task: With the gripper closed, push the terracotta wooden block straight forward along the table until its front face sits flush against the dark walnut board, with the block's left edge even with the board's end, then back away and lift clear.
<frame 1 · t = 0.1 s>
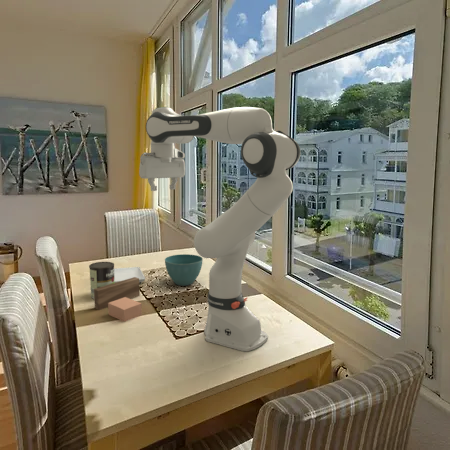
hand: (163, 190, 136), 48 cm above the table, tool pointing down, fingers open, 8 cm apart
salad plate: (121, 280, 179), on the table
plant pot: (183, 283, 176), on the table
terracotta block: (125, 315, 139), on the table
coffee can: (103, 295, 158), on the table
walnut board: (118, 301, 151), on the table
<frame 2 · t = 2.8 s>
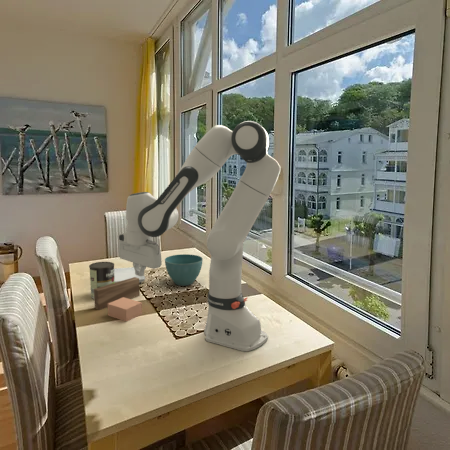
hand: (139, 275, 129), 18 cm above the table, tool pointing down, fingers closed
nothing on the table moved.
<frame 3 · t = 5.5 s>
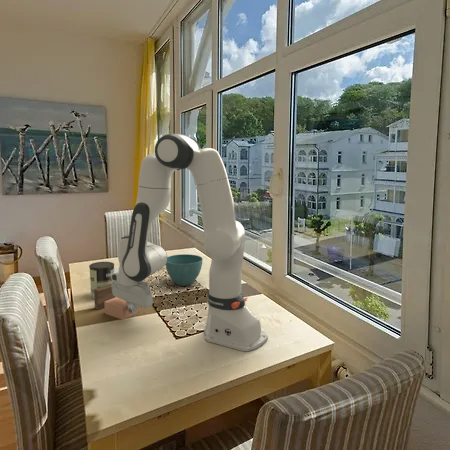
hand: (132, 312, 135), 2 cm above the table, tool pointing down, fingers closed
terracotta block: (121, 313, 140), on the table, touching gripper
everything else where it was.
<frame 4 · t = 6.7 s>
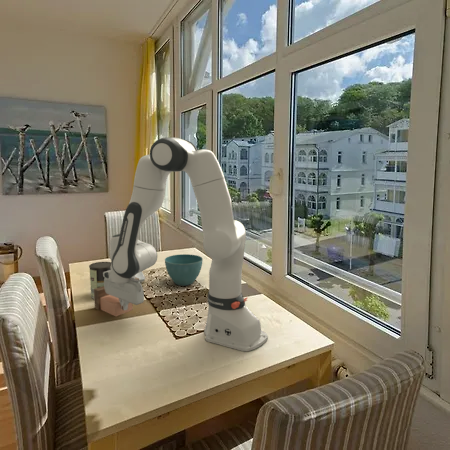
hand: (124, 309, 138), 2 cm above the table, tool pointing down, fingers closed
terracotta block: (116, 309, 143), on the table, touching gripper, walnut board
everything else where it was.
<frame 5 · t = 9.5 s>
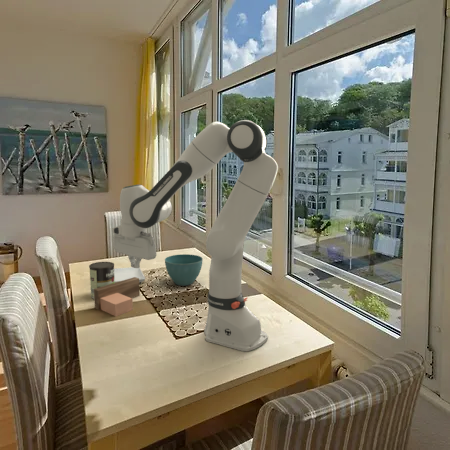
hand: (135, 267, 131), 20 cm above the table, tool pointing down, fingers closed
terracotta block: (116, 310, 143), on the table
everything else where it was.
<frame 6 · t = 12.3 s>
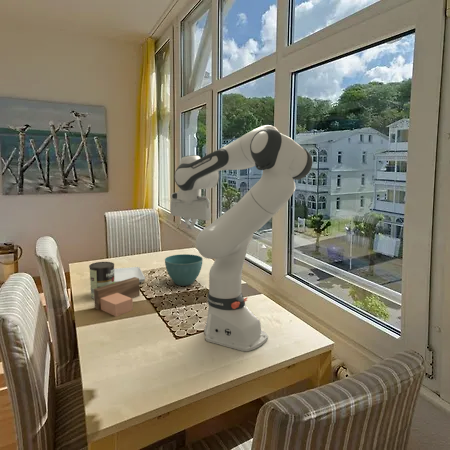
hand: (190, 228, 150), 31 cm above the table, tool pointing down, fingers closed
nothing on the table moved.
at the end: terracotta block 0.9 cm from the target spot on the table beside the walnut board, on the table; terracotta block tilted 0° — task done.
